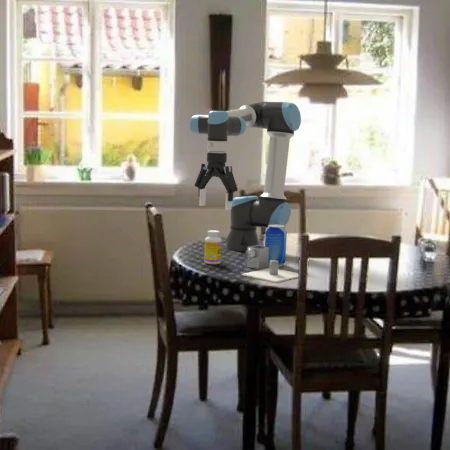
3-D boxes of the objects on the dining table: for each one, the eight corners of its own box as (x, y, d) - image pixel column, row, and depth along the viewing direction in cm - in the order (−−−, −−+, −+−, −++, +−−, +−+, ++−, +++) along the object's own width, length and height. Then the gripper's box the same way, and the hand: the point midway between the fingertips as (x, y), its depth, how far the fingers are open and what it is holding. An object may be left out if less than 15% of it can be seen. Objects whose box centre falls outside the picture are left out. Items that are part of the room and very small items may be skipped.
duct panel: (271, 269, 307) (271, 255, 306) (305, 276, 297) (305, 261, 296) (241, 275, 294) (242, 260, 293) (275, 282, 283) (276, 267, 283)
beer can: (261, 266, 313) (263, 226, 310) (267, 262, 321) (269, 223, 318) (281, 268, 310) (283, 227, 308) (287, 264, 318) (289, 225, 315)
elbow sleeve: (256, 264, 315) (257, 245, 313) (268, 267, 311) (269, 247, 310) (242, 267, 308) (243, 247, 307) (254, 270, 304) (255, 249, 303)
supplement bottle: (218, 265, 311) (220, 232, 309) (202, 263, 312) (203, 231, 311) (222, 262, 318) (223, 230, 316) (206, 260, 319) (207, 229, 317)
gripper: (186, 150, 305) (185, 204, 309) (234, 154, 289) (232, 212, 292) (200, 149, 311) (198, 203, 314) (248, 154, 294) (246, 210, 298)
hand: (215, 207), depth 303 cm, fingers open, 13 cm apart
